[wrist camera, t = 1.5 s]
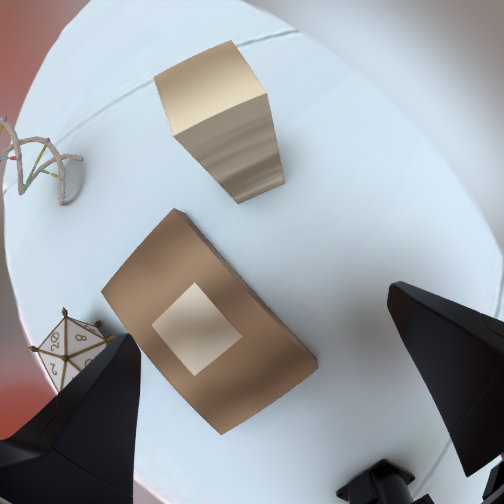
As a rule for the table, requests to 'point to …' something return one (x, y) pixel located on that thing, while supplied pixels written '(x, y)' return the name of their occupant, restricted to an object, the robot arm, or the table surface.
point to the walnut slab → (205, 326)
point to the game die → (70, 349)
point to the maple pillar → (223, 120)
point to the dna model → (48, 144)
